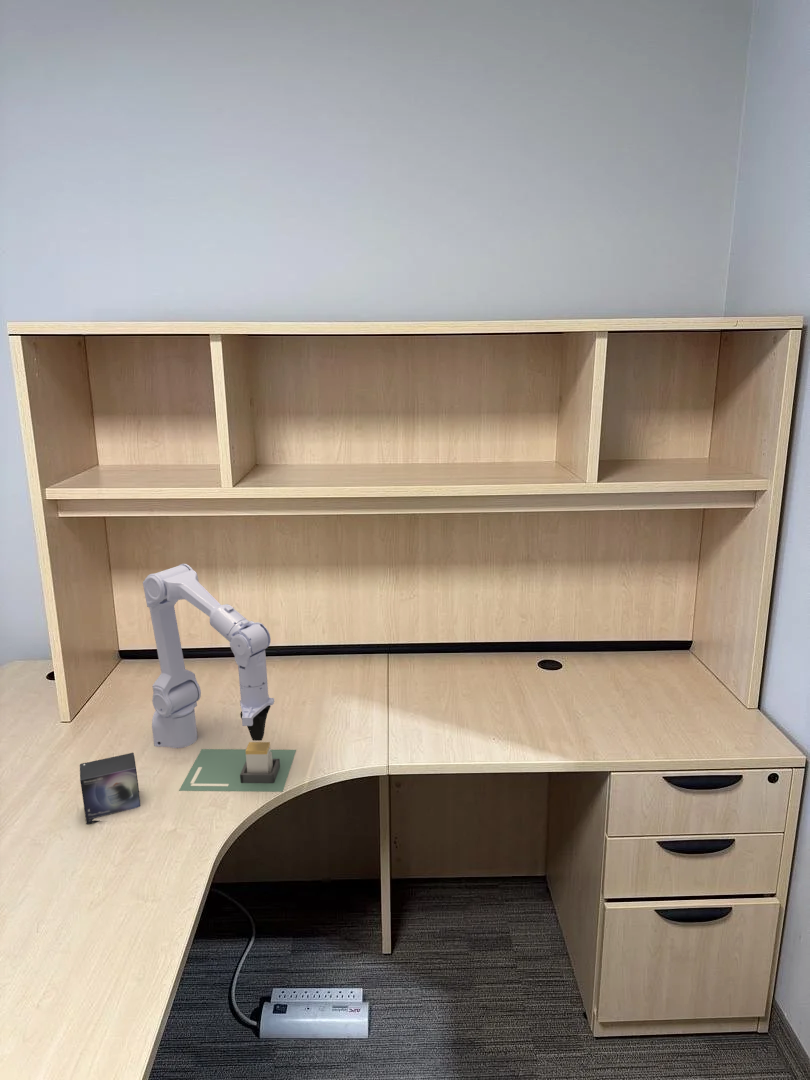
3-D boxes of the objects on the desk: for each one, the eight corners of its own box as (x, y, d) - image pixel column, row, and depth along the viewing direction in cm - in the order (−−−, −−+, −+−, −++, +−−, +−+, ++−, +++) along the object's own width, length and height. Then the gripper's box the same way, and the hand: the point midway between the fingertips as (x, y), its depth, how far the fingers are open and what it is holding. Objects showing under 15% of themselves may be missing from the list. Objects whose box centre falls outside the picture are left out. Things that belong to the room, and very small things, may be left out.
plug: (247, 778, 159) (245, 751, 157) (251, 769, 162) (249, 742, 160) (271, 778, 159) (268, 751, 157) (274, 769, 162) (272, 742, 160)
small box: (85, 826, 146) (78, 780, 144) (85, 807, 152) (78, 763, 149) (142, 812, 150) (136, 767, 148) (139, 794, 156) (133, 751, 153)
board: (179, 795, 156) (177, 782, 155) (202, 753, 171) (200, 741, 170) (283, 796, 155) (282, 783, 154) (296, 754, 170) (295, 741, 169)
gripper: (264, 697, 147) (269, 757, 151) (279, 665, 161) (282, 721, 165) (229, 697, 147) (234, 757, 151) (247, 665, 161) (251, 721, 165)
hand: (257, 738), depth 158 cm, fingers closed
